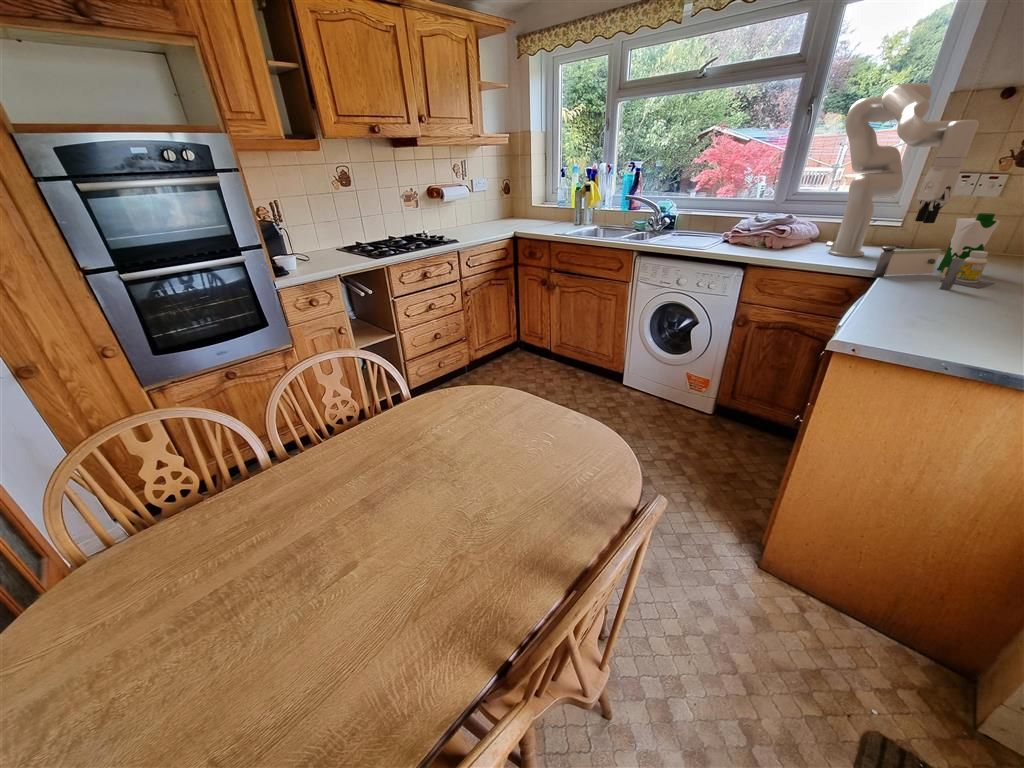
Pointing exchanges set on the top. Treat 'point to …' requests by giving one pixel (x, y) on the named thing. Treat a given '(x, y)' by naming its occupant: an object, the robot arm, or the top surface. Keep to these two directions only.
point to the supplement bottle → (972, 267)
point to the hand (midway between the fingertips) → (924, 221)
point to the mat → (975, 285)
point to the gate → (912, 261)
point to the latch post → (951, 273)
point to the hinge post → (883, 261)
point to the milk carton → (969, 237)
